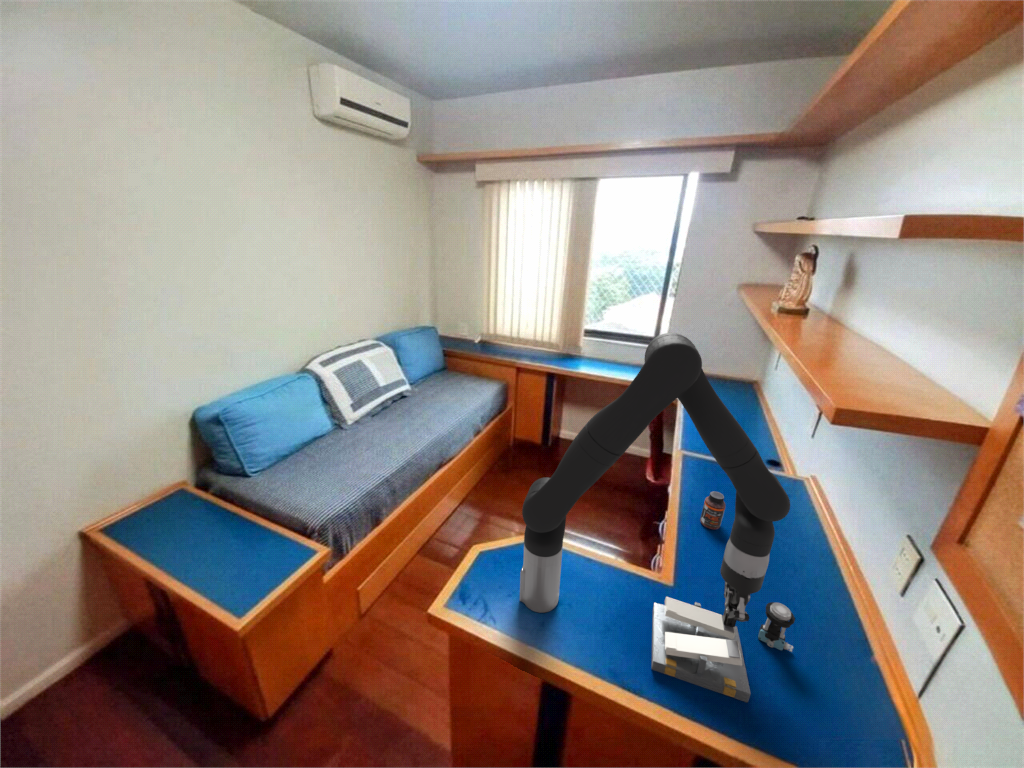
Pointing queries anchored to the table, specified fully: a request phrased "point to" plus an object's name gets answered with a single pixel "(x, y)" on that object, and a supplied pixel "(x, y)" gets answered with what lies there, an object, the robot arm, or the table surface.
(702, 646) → the rocker front
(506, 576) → the table surface
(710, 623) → the rocker back
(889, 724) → the table surface
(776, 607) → the push button
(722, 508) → the supplement bottle
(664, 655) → the switch unit
